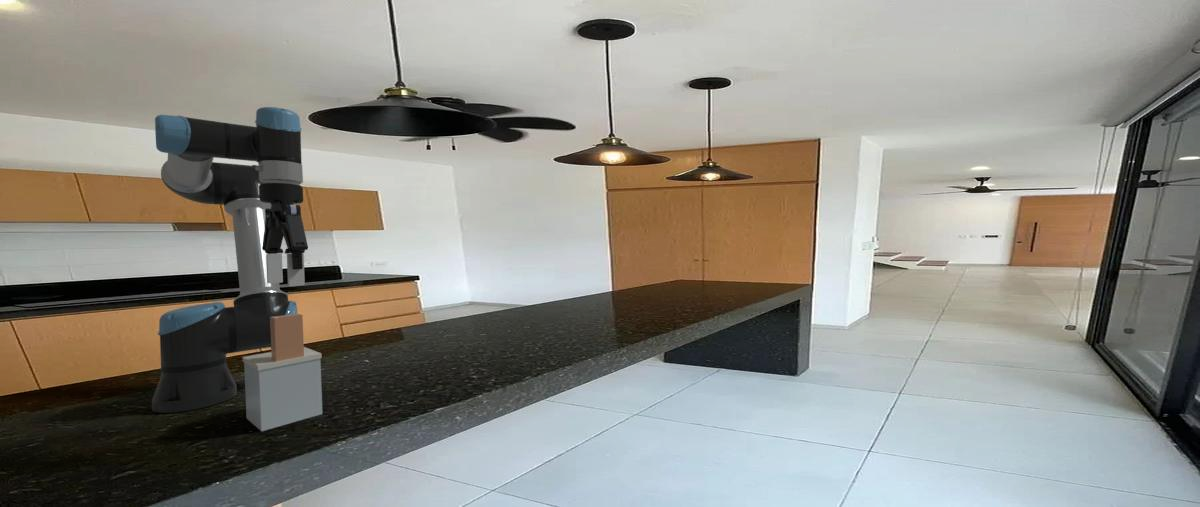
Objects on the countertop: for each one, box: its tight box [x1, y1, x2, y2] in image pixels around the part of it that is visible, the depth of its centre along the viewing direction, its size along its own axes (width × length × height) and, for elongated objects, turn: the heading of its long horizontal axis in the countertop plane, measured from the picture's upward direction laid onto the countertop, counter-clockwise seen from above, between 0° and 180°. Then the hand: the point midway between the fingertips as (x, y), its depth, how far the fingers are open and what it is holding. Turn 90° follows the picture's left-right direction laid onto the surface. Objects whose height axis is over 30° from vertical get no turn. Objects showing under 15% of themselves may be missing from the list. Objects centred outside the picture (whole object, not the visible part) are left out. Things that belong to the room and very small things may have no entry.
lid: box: [242, 313, 323, 371], centre depth 95 cm, size 11×11×10 cm
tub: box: [243, 358, 323, 432], centre depth 96 cm, size 11×11×12 cm
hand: (285, 284), depth 93 cm, fingers open, 13 cm apart
